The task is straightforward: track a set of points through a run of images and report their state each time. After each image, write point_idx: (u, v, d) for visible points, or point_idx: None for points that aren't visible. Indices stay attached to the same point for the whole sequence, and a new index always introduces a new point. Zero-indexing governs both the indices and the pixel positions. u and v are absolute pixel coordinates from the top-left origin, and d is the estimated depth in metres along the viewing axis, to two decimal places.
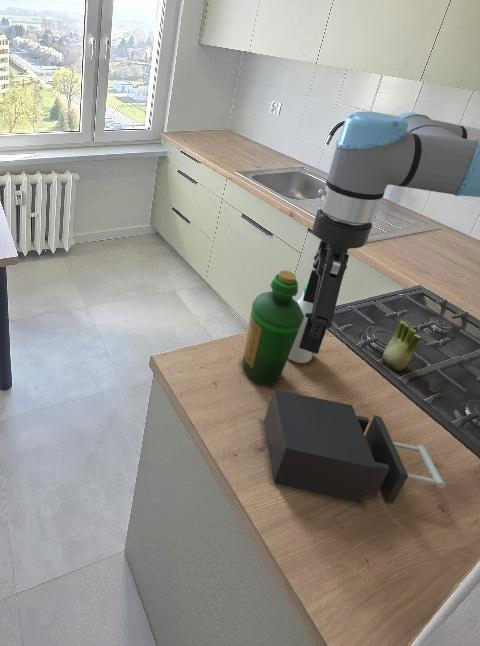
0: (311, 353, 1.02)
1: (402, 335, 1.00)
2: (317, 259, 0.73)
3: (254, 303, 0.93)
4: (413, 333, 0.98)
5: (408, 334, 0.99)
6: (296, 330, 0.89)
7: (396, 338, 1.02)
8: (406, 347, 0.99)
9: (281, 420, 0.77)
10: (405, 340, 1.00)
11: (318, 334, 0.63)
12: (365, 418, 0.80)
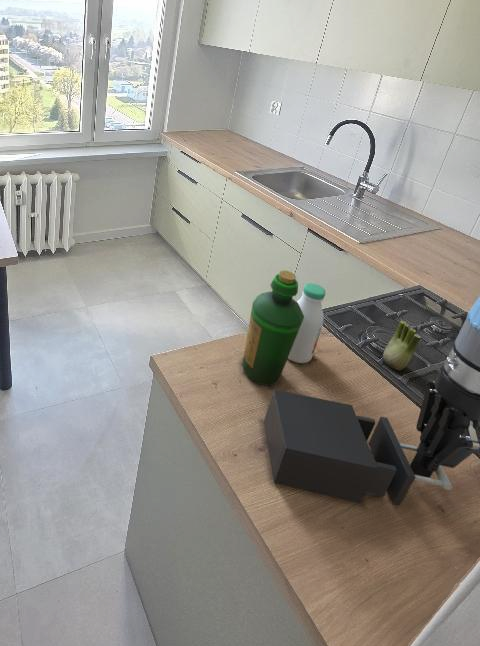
0: (311, 353, 1.02)
1: (402, 335, 1.00)
2: (429, 426, 0.73)
3: (254, 303, 0.93)
4: (413, 333, 0.98)
5: (408, 334, 0.99)
6: (296, 330, 0.89)
7: (396, 338, 1.02)
8: (406, 347, 0.99)
9: (281, 420, 0.77)
10: (405, 340, 1.00)
11: (435, 468, 0.73)
12: (371, 419, 0.79)
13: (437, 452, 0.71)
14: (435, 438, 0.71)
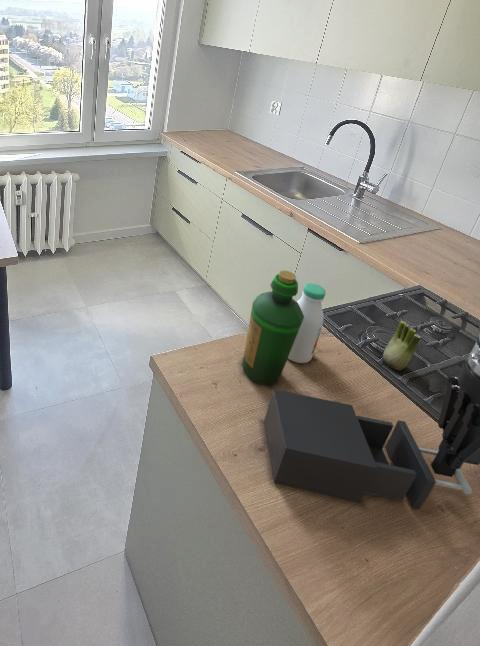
0: (311, 353, 1.02)
1: (402, 335, 1.00)
2: (452, 423, 0.72)
3: (254, 303, 0.93)
4: (413, 333, 0.98)
5: (408, 334, 0.99)
6: (296, 330, 0.89)
7: (396, 338, 1.02)
8: (406, 347, 0.99)
9: (281, 420, 0.77)
10: (405, 340, 1.00)
11: (459, 465, 0.71)
12: (389, 423, 0.79)
13: (461, 449, 0.70)
14: (459, 435, 0.70)
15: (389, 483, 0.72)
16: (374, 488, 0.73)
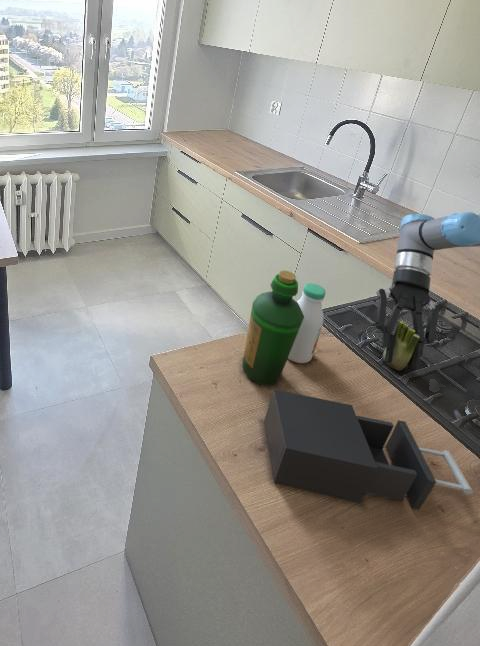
0: (311, 353, 1.02)
1: (401, 335, 1.00)
2: None
3: (254, 303, 0.93)
4: (412, 333, 0.98)
5: (407, 334, 0.99)
6: (296, 330, 0.89)
7: (396, 338, 1.02)
8: (405, 347, 0.99)
9: (281, 420, 0.77)
10: (404, 340, 1.00)
11: (383, 340, 1.02)
12: (389, 423, 0.79)
13: None
14: None
15: (389, 483, 0.72)
16: (374, 488, 0.73)
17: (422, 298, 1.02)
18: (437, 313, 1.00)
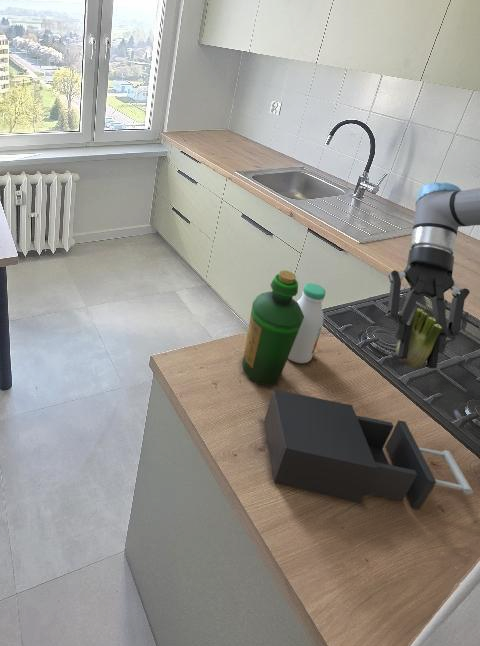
0: (311, 353, 1.02)
1: (419, 326, 0.83)
2: None
3: (254, 303, 0.93)
4: (433, 323, 0.81)
5: (426, 324, 0.81)
6: (296, 330, 0.89)
7: (412, 329, 0.84)
8: (424, 340, 0.82)
9: (281, 420, 0.77)
10: (423, 331, 0.82)
11: (397, 332, 0.84)
12: (389, 423, 0.79)
13: None
14: None
15: (389, 483, 0.72)
16: (374, 488, 0.73)
17: (444, 281, 0.85)
18: (463, 299, 0.83)
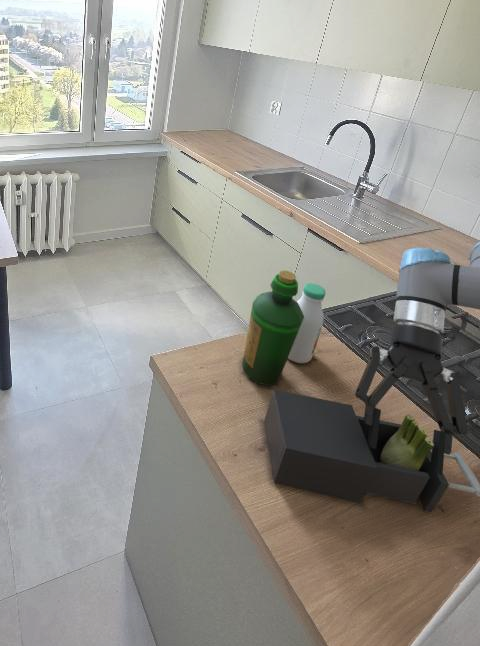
0: (311, 353, 1.02)
1: (408, 436, 0.74)
2: None
3: (254, 303, 0.93)
4: (424, 436, 0.71)
5: (417, 436, 0.72)
6: (296, 330, 0.89)
7: (400, 437, 0.75)
8: (413, 453, 0.73)
9: (281, 420, 0.77)
10: (412, 443, 0.73)
11: (365, 416, 0.75)
12: (400, 425, 0.79)
13: None
14: None
15: (401, 486, 0.72)
16: (386, 491, 0.73)
17: (432, 366, 0.74)
18: (458, 386, 0.72)
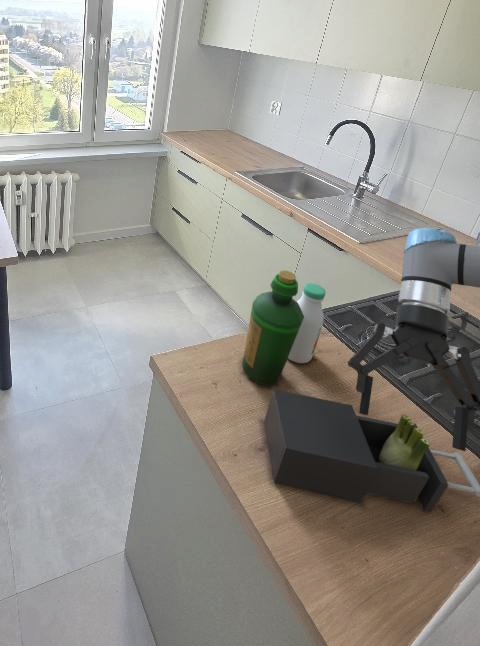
0: (311, 353, 1.02)
1: (405, 435, 0.74)
2: None
3: (254, 303, 0.93)
4: (420, 435, 0.72)
5: (413, 436, 0.72)
6: (296, 330, 0.89)
7: (397, 437, 0.75)
8: (410, 453, 0.73)
9: (281, 420, 0.77)
10: (409, 443, 0.73)
11: (357, 384, 0.75)
12: None
13: None
14: None
15: (401, 486, 0.72)
16: (386, 491, 0.73)
17: (438, 346, 0.73)
18: (468, 362, 0.71)
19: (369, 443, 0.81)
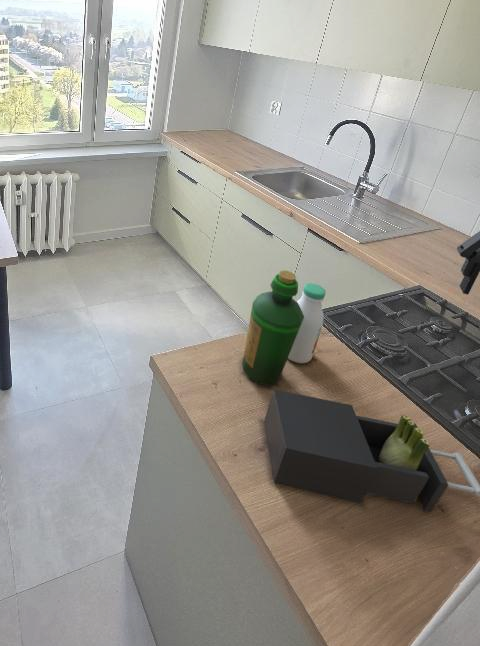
0: (311, 353, 1.02)
1: (405, 435, 0.74)
2: None
3: (254, 303, 0.93)
4: (420, 435, 0.72)
5: (413, 436, 0.72)
6: (296, 330, 0.89)
7: (397, 437, 0.75)
8: (410, 453, 0.73)
9: (281, 420, 0.77)
10: (409, 443, 0.73)
11: (463, 269, 0.78)
12: None
13: None
14: None
15: (401, 486, 0.72)
16: (385, 491, 0.73)
17: None
18: None
19: (369, 443, 0.81)
